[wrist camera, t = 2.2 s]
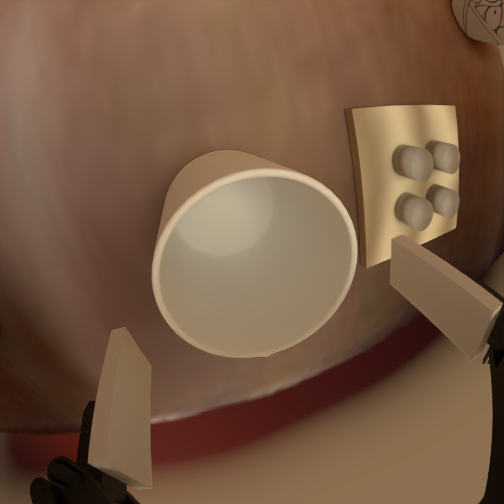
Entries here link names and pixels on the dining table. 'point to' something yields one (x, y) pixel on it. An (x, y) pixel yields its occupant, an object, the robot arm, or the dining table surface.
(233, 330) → the mug
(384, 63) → the dining table surface
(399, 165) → the peg stand
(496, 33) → the mug
